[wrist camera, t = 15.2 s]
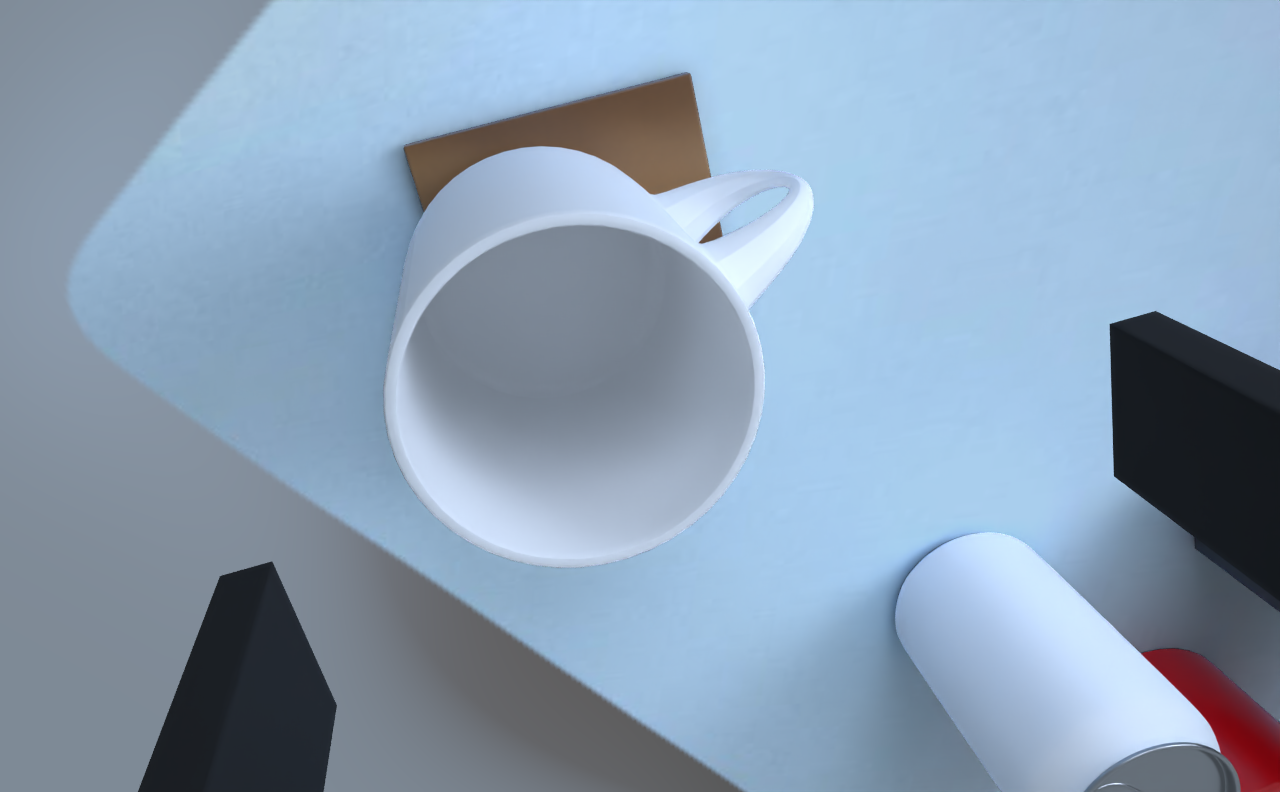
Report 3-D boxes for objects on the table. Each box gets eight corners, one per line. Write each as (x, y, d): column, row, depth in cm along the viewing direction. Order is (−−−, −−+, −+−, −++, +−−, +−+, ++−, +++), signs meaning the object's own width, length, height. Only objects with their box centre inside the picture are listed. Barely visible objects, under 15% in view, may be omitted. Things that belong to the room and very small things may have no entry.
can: (918, 517, 39) (1100, 725, 28) (1063, 535, 40) (1290, 740, 29) (869, 657, 41) (1020, 901, 30) (1009, 669, 43) (1201, 906, 32)
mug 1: (806, 265, 34) (950, 378, 24) (500, 447, 34) (518, 630, 24) (686, 27, 30) (798, 46, 20) (348, 233, 31) (299, 348, 21)
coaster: (403, 144, 31) (403, 147, 30) (687, 71, 31) (690, 72, 31) (486, 407, 34) (487, 412, 34) (739, 336, 35) (743, 341, 34)
